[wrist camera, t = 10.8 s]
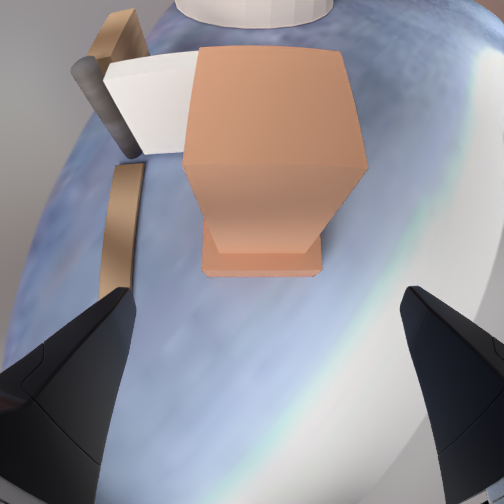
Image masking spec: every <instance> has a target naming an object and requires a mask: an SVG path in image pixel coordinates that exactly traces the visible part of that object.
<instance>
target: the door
mask: <svg viewBox="0 0 504 504" xmlns="http://www.w3.org/2000/svg"><path fill="white" fill-rule="evenodd" d="M198 52H199V51H190V52H179V53H170V54H162V55H155V56H148V57H142V58H136V59H130V60H125V61H120V62H115V63H110V65H109V67H108V69H107V72H106V74H105V77H104V79H103V82H104V84H105V85H106V87H107V89H108V91H109V93H110V95H111V96H112V98H113V100H114V102H115V104H116V105H117V107H118V109H119V111H120V113H121V114H122V116H123V118H124V120H125V121H126V123H127V125H128V127H129V128H130V130H131V132H132V134H133V135H134V137H135V139H136V141H137V142H138V144H139V146H140V148H141V149H142V151H143V153H144V154H145V155H146V154H160V153H175V152H184V145H185V137H186V129H187V121H188V114H189V107H190V100H191V93H192V87H193V81H194V75H195V69H196V63H197V58H198Z"/></svg>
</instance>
